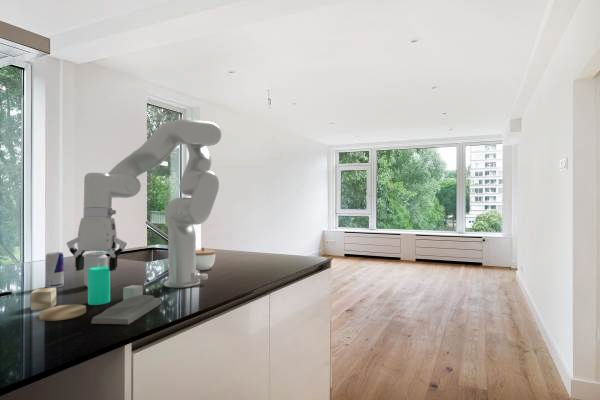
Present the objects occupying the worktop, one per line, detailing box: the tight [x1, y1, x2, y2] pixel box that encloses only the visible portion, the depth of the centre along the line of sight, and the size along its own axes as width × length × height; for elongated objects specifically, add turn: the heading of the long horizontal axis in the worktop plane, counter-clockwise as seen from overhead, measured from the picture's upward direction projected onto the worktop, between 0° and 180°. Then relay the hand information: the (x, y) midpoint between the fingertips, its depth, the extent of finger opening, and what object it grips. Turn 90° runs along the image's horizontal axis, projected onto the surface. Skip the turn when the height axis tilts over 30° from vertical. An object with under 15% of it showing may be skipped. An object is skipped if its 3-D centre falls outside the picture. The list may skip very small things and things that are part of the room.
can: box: [83, 251, 108, 288], centre depth 140 cm, size 8×8×12 cm
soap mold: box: [90, 294, 163, 325], centre depth 107 cm, size 10×20×4 cm, turn 175°
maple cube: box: [30, 287, 57, 311], centre depth 113 cm, size 5×5×5 cm
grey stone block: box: [122, 284, 144, 301], centre depth 121 cm, size 4×4×4 cm
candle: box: [87, 266, 111, 306], centre depth 118 cm, size 6×6×12 cm
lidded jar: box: [196, 247, 216, 271], centre depth 172 cm, size 11×11×9 cm
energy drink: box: [45, 251, 65, 289], centre depth 139 cm, size 5×5×12 cm
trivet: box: [38, 304, 87, 322], centre depth 106 cm, size 11×11×1 cm
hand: (96, 270), depth 117 cm, fingers open, 9 cm apart
